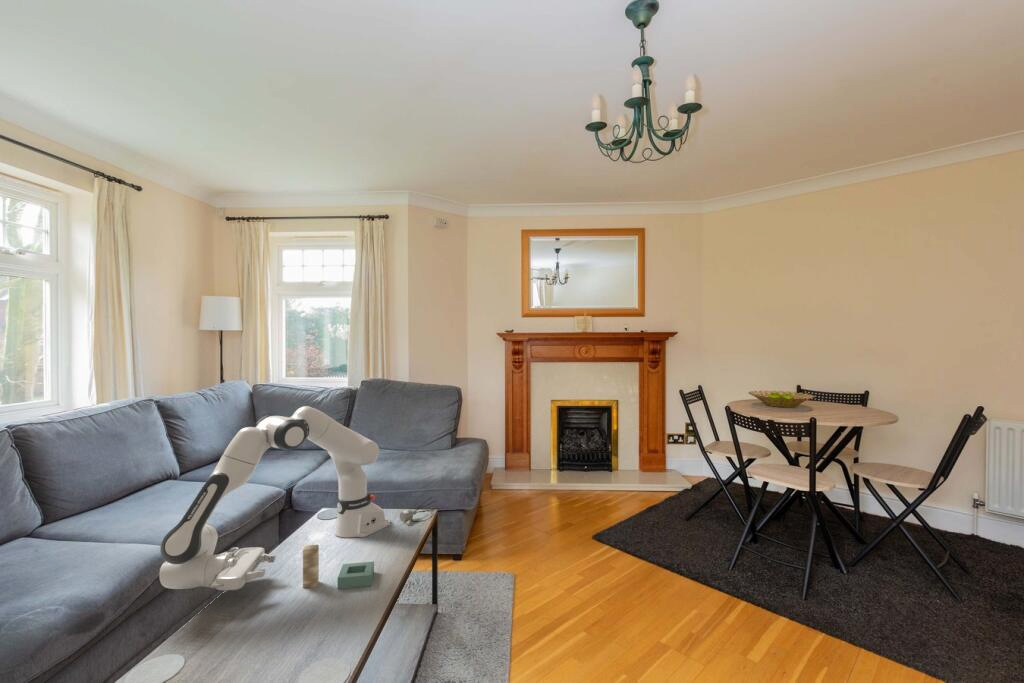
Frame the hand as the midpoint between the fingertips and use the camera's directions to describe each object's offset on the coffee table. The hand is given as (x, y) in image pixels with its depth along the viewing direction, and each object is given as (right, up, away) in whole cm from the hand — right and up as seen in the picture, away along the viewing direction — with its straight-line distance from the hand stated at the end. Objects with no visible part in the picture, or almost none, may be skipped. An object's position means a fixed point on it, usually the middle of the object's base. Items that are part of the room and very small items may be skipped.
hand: (269, 565), depth 141 cm
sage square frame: (+26, -7, +5) cm, 27 cm away
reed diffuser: (+36, -8, +58) cm, 69 cm away
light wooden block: (+12, -7, +2) cm, 14 cm away
